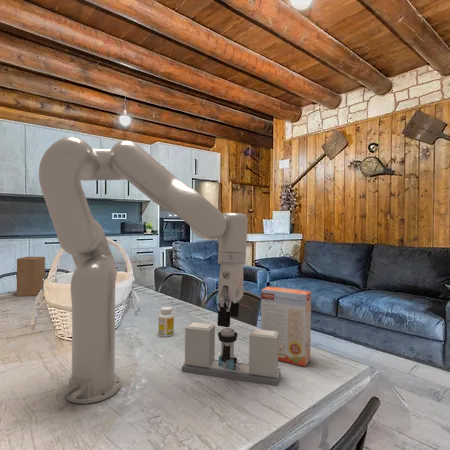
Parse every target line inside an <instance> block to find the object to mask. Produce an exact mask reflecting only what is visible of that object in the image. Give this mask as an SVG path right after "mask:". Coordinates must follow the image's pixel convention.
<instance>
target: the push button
mask: <svg viewBox="0 0 450 450" xmlns="http://www.w3.org/2000/svg"><path fill="white" fill-rule="evenodd" d="M217 337H218V340H219V341H220V345H221V346H220V347H221V349H220V355H219V356H218V360H219V363H218V365H219V366H221V367H223V368H224V369H226V368H227V369H230V370H233V369H238V368H239V367H237V366H240V364H238V363H239V362H238V358H237V357H236V356H235V355H234V354H235V353H234V351H235V348H234V347H235V342H236V341H237V339H238V333H237V332H236V331H235V329H234V328H230V327H223V328H222V329H221V331H218V332H217ZM236 365H237V366H236ZM239 369H241V368H239Z"/></svg>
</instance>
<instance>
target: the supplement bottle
mask: <svg viewBox="0 0 450 450" xmlns="http://www.w3.org/2000/svg"><path fill="white" fill-rule="evenodd" d="M174 319H175V316H174V313H173V307H171V306H163V307H161V308H160V313H159V315H158V336H159V337H162V338H168V337H172V336H173V335H174V332H175V331H174V330H175V328H174V326H175V324H174V323H175V322H174V321H175V320H174Z"/></svg>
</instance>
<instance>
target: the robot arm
mask: <svg viewBox="0 0 450 450" xmlns="http://www.w3.org/2000/svg"><path fill="white" fill-rule="evenodd" d="M122 180H126V181H128V182H129V184H131V185H133V186H134V187H135V188H136V189H137V190H139V192H141V193H142V194H143V195H144V196H146V197H147V198H148V199H150V201H152V202H153V203H155V204H156V205H158V206H159V207H161V208H164V209H166V210H168V211H170V212H171V213H173V214H174V215H176V216H178V217H179V218H180V219H181V220H182V221H184V222H185V223H186V224H188V225H189V226H190V230H191V232H192V233H193V235H195V236H196V237H198V238H200V239H205V240H210V241H211V240H217V239H218V255H217V256H218V257H217V264H220V267H219V268H220V269H219V276H218V287H217V289H218V290H217V299H218V300H217V301H218V307H217V323H216V324H217V327H222V328H230V326H231V317H233V318H238V317H239V313H240V300H242V298H243V296H244V266H246V263H247V261H246V259H247V245H248V244H247V241H248V226H249V225H248V222H249V220H248V216H247V215H246V214H245V213H239V212H224V213H223V212H221V210H219V209H218V208H217V207H216V206H215V205H214V204H213V203H211V202H210V201H209V200H207V198H205V197H204V196H203V195H202V194H200V193H199V192H198V191H197V190H195V189H193V188H192V187H190V185H188V184H186V183H185V182H184V181H183V180H181V179H180V178H178V177H176V176H175V174H173V173H172V172H171V171H170V170H169V169H167V168H166V167H164V166H163V165H162V164H161V163H160V162H159V161H157V160H156V158H154V157H153V156H152V155H151V154H149V153H148V152H147V151H146V150H145V149H144V148H142V147H141V146H140V145H139V144H137V143H136V142H134V141H132V140H128V139H126V140H120V141H118V142H116V143H115V144H114V145H113V146H112V147H111V148H92V146H91V145H90V144H89V143H87V141H85V140H83V139H81V138H78V137H76V136H66V137H62V138H60V139H58V140H56V141H54V142H53V143H52V144H51V145H50V146H49V147H48V148H47V149H46V151H45V152H44V154H43V155H42V157H41V160H40V163H39V167H38V181H39V186H40V190H41V193H42V196H43V199H44V201H45V204H46V207H47V209H48V213H49V217H50V219H51V221H52V222H51V223H52V225H53V228H54V230H55V234H56V236H57V239H58V243H59V245H60V247H61V249H62V250H63V251H64V252H65V253H67V254H69V255H70V256H71V257H72V260H73V262H74V266H75V270H74V271H73V273H72V276H71V279H70V298H71V315H72V316H71V328H72V329H71V335H72V336H71V339H72V340H71V341H72V342H71V377H70V378H68V384H66V386H65V387H64V388H63V389H62V390H60V391H58V393H56V395H55V398H56V401H58V402H60V403H61V402H63V401H64V400H66V401H69V402H70V403H74V404H84V405H86V404H87V405H88V404H94V403H98V402H101V401H105V400H106V399H108V398H111V397H112V396H114V395H115V394H117V393H118V392H119V390H120V389H121V387H122V380H121V378H120V376H118V375H116V374H115V369H116V367H115V361H116V360H115V356H116V353H115V349H116V346H115V345H116V283H117V282H116V280H117V275H118V268H117V264H116V263H115V262H116V261H115V259H114V256H113V254H112V251H111V248H110V245H109V243H108V242H109V241H108V239H107V237H106V233H105V231H104V228H103V227H102V225H101V224H100V223H99V221H97V220H96V219H95V218H94V217H93V215H92V212H91V209H90V206H89V203H88V200H87V197H86V194H85V191H84V189H83V186H82V181H85V182H86V181H88V182H89V181H90V182H91V181H122Z"/></svg>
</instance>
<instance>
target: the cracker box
mask: <svg viewBox="0 0 450 450" xmlns="http://www.w3.org/2000/svg"><path fill="white" fill-rule="evenodd" d="M260 295H261V296H260V297H261V299H260V302H261V303H260V305H261V307H260V330H269V331H276V332H279V337H278V362H279V361H281V362H283V363H288V364H292V365H296V366H299V367H300V366H301V367H306V366H307V364H309V362H310V360H311V328H312V326H311V325H312V324H311V323H312V322H311V321H312V319H311V317H312V291H310V290H303V289H294V288H288V287H287V288H286V287H276V286H270V285H269V286H266V287H264V288H262V289H261V294H260Z"/></svg>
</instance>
